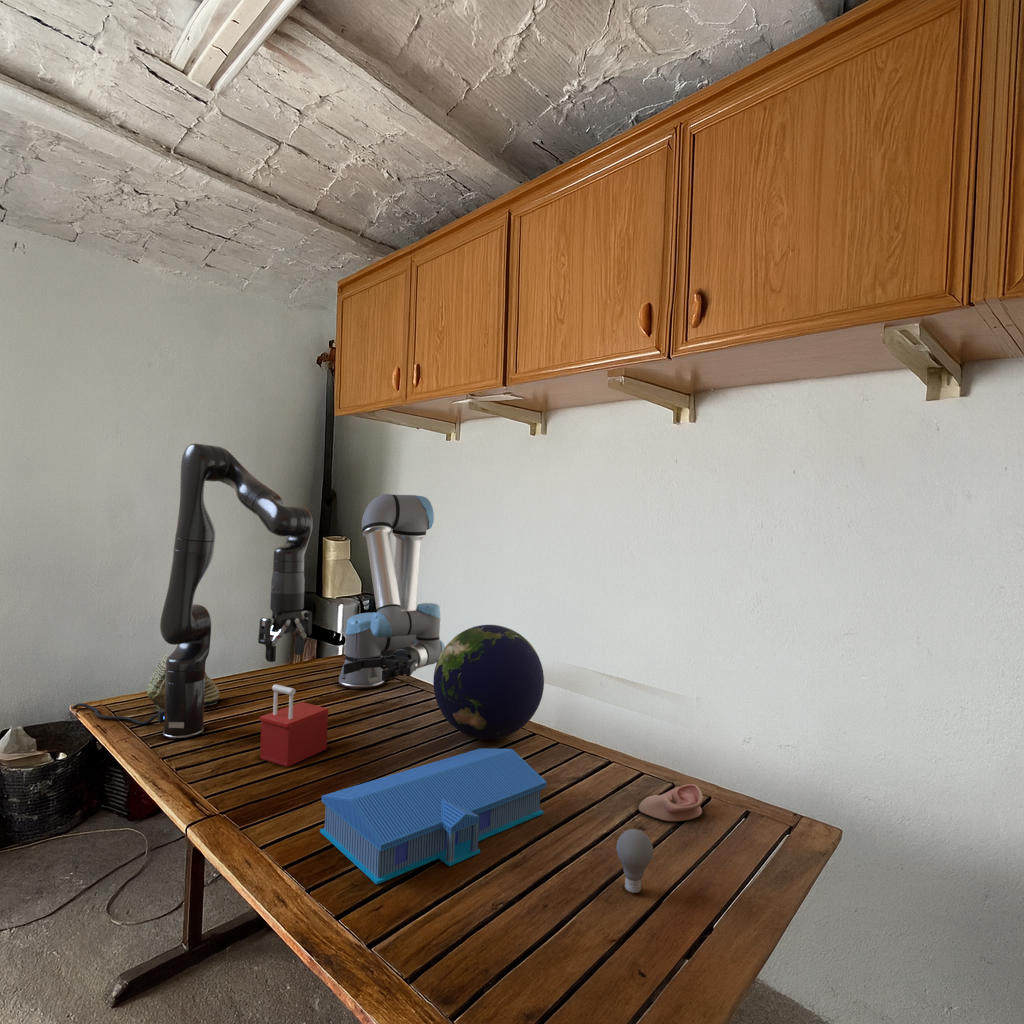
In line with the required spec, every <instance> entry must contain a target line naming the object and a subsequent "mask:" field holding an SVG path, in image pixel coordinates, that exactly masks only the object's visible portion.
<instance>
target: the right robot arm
mask: <svg viewBox="0 0 1024 1024" xmlns="http://www.w3.org/2000/svg"><path fill="white" fill-rule="evenodd" d="M434 522H435V513H434V508H433V505H432V503H431V501H430V499H428V497H426V496H423V495H417V494H391V493H385V494H380V495H378V496H376V497H374V498H373V499H372V500H371V501H370V502H369V503H368V504H367V506H366V508H365V509H364V512H363V515H362V519H361V533H362V536H363V537H364V538H366V546H367V552H368V559H369V567H370V574H371V580H372V588H373V594H374V595H373V596H374V601H375V608H376V612H375V611H373V612H362V613H357V614H354V615H352V616H350V617H349V618H348V619H347V621H346V628H345V651H344V652H345V654H344V663H343V665H342V668H341V671H340V673H339V677H338V685H339V686H340V687H341V688H344V689H348V690H371V689H376V688H379V687H382V686H383V685H384V684H385V683H386V681H388V680H391V679H394V678H397V677H399V676H401V677H404V676H405V675H406V676H405V677H411V676H412V674H413V673H414V672H416V671H417V670H418V669H421V668H423V667H427V666H430V665H434V664H437V661H438V659H439V656H440V654H441V652H442V651H443V649H444V648H445V646H446V645H445V644H444V642H443V641H442V640H441V638H440V633H441V631H440V630H441V607H440V605H438V603H432V602H427V603H426V602H423V603H418V604H417V600H418V586H419V585H418V584H419V574H420V573H419V572H420V559H421V546H422V540H423V539H424V538H425V537H426V536H427V530H430V529H432V527H433V525H434ZM391 534H392V535H393V536H394V537H395V550H394V555H393V548H392V541H391ZM387 651H394V652H393V654H389V655H385V654H381V652H387Z"/></svg>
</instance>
